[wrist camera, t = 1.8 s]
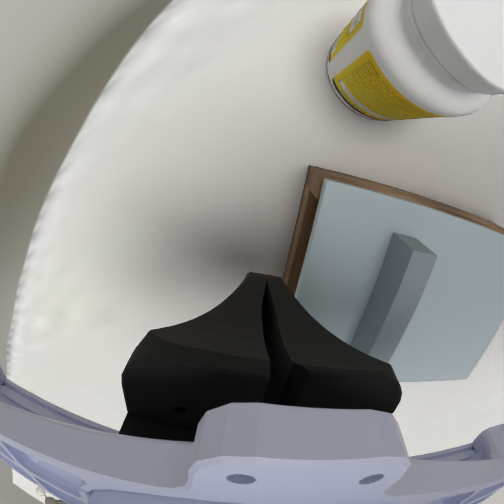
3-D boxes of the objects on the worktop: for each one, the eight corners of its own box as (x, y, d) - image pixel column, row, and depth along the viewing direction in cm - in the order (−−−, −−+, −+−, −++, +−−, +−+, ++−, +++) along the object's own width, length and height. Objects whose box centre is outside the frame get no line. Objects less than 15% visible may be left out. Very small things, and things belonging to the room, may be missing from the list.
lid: (527, 244, 11) (554, 262, 9) (463, 373, 15) (478, 398, 13) (324, 178, 11) (339, 190, 9) (273, 365, 15) (273, 402, 12)
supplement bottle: (421, 124, 13) (555, 135, 4) (330, 120, 14) (424, 103, 5) (409, 37, 11) (521, -18, 2) (319, 27, 12) (376, -79, 3)
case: (494, 223, 15) (528, 242, 11) (442, 342, 19) (462, 373, 15) (308, 165, 15) (322, 174, 11) (271, 324, 19) (271, 365, 15)
